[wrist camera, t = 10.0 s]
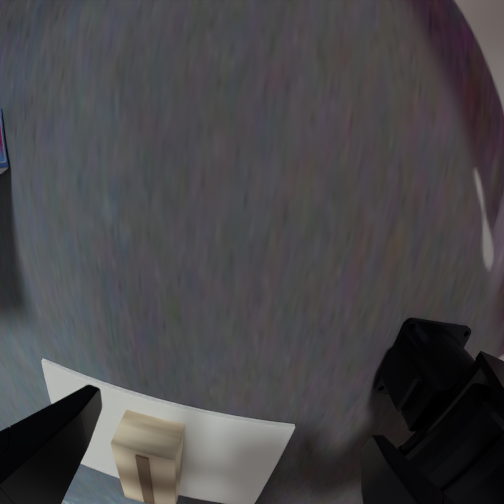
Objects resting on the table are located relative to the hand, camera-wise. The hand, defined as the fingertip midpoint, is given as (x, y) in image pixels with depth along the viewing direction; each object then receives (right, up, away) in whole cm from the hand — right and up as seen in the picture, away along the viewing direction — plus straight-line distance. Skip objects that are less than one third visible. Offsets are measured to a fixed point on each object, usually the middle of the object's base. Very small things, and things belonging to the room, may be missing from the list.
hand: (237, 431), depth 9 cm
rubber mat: (-9, -13, +16) cm, 22 cm away
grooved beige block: (-8, -13, +15) cm, 21 cm away
